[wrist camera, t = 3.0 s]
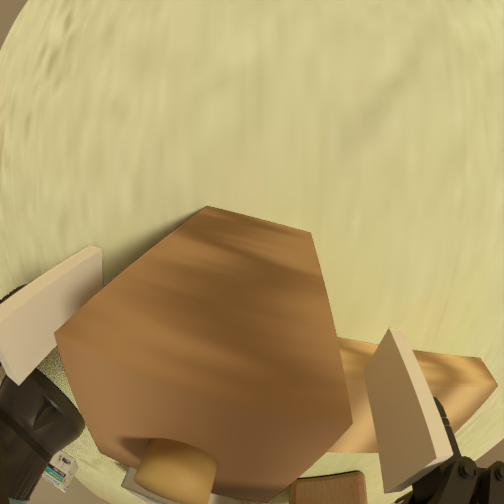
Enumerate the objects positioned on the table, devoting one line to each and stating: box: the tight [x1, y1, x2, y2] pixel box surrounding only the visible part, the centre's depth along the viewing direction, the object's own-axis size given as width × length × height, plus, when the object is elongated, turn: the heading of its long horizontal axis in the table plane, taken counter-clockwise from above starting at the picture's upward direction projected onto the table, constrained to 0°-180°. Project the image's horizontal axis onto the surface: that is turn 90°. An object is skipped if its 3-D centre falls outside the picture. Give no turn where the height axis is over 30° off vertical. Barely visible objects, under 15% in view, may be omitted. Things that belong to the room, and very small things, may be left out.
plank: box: [327, 337, 498, 453], centre depth 17 cm, size 30×9×4 cm, turn 77°
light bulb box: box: [42, 450, 78, 492], centre depth 38 cm, size 11×7×11 cm, turn 155°
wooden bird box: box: [54, 206, 353, 504], centre depth 12 cm, size 6×15×13 cm, turn 167°
